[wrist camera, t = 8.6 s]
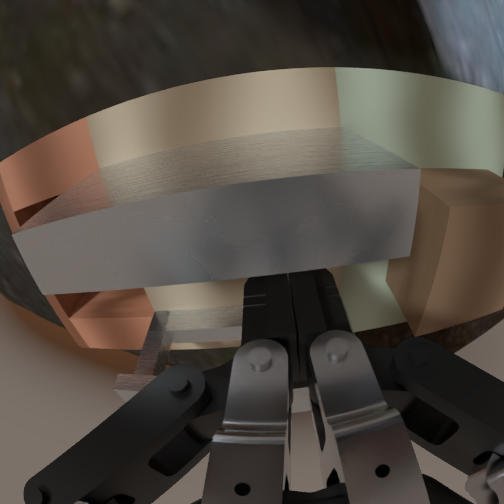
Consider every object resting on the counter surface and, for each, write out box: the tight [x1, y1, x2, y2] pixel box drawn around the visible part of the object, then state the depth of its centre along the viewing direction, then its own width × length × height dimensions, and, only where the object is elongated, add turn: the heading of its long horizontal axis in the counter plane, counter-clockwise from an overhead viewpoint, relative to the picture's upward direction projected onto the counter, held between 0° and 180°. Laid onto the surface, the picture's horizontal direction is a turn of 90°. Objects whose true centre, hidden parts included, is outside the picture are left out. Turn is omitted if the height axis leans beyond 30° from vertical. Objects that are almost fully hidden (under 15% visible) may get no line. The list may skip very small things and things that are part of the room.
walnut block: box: [385, 168, 504, 337], centre depth 10 cm, size 6×6×4 cm
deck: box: [0, 67, 504, 350], centre depth 14 cm, size 28×14×4 cm, turn 98°
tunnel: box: [12, 127, 421, 413], centre depth 10 cm, size 10×9×6 cm
